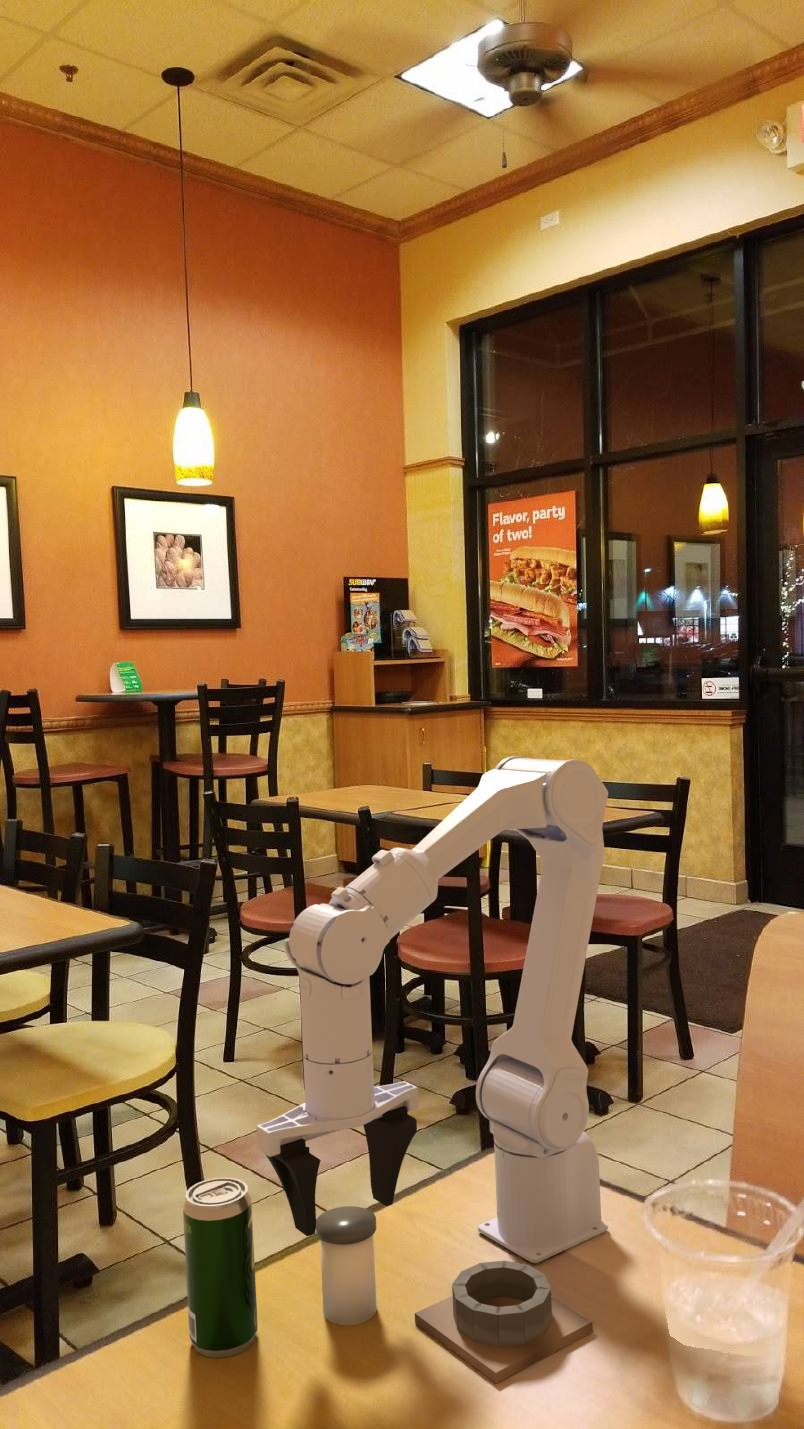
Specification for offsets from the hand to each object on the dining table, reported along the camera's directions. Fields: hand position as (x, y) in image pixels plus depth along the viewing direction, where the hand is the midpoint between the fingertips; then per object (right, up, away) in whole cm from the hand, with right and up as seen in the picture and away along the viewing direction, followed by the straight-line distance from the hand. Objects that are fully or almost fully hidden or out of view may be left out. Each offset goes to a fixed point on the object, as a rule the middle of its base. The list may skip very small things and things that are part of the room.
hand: (344, 1215), depth 92 cm
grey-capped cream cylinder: (0, -8, 0) cm, 8 cm away
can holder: (+13, -8, -3) cm, 15 cm away
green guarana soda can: (-9, -9, -3) cm, 13 cm away
